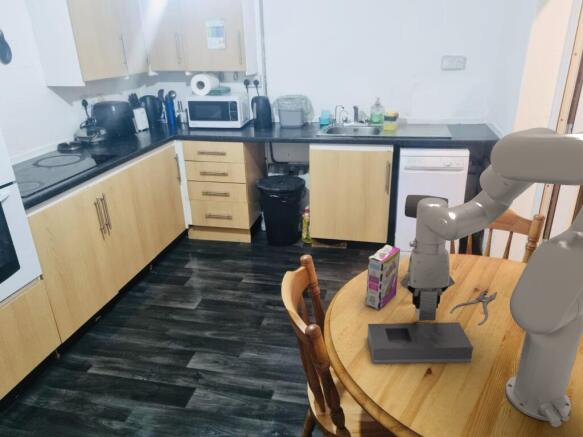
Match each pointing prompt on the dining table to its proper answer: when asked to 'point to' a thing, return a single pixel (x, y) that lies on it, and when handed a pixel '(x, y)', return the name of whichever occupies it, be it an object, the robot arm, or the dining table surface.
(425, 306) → the steel peg
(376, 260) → the candy bar box
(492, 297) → the pliers
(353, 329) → the dining table surface
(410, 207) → the rubber mallet
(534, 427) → the dining table surface
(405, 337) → the rectangular block
